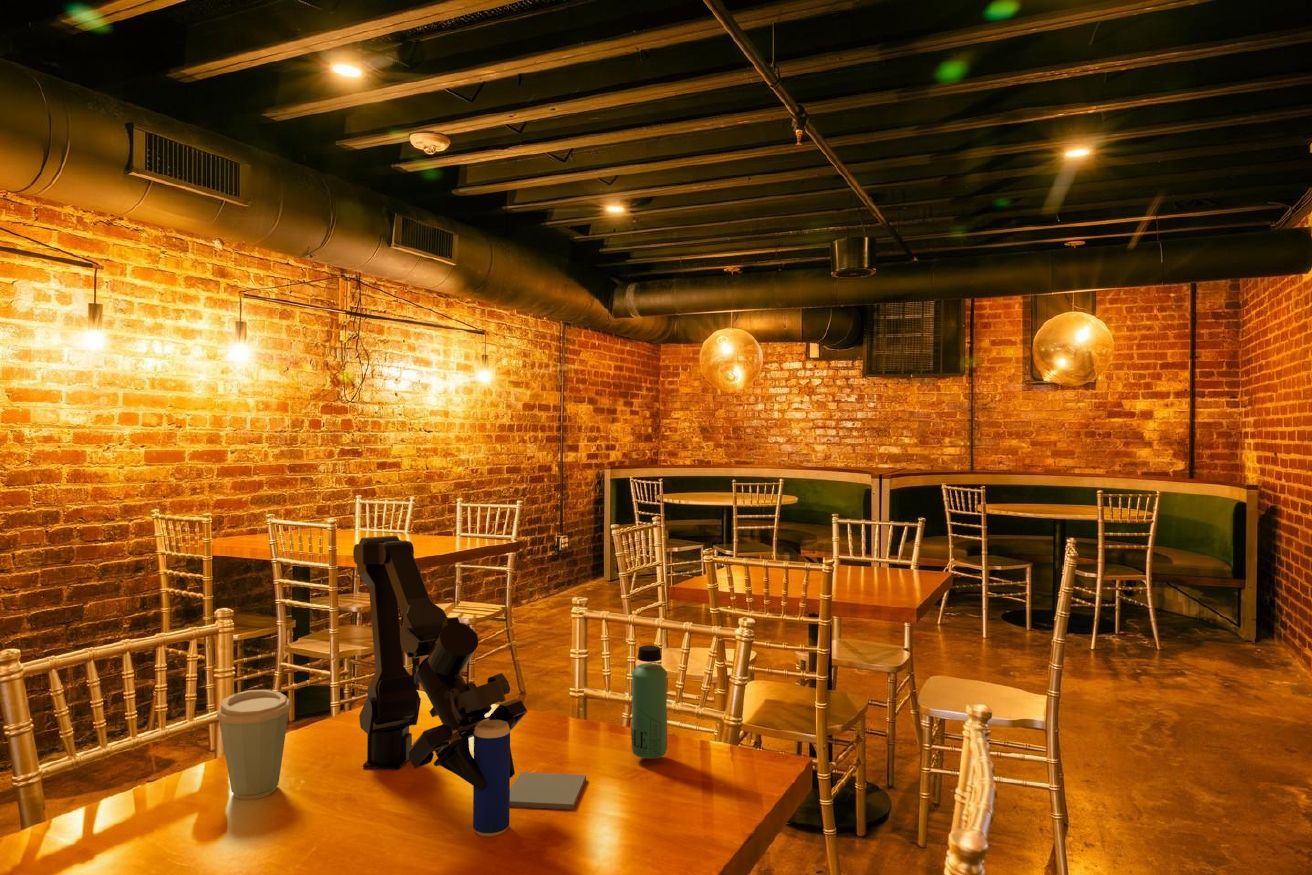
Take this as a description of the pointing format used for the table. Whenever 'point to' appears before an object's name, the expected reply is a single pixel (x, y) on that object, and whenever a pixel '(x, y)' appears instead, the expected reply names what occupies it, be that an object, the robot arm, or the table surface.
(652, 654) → the beverage bottle
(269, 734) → the disposable coffee cup
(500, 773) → the beverage can
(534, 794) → the coaster
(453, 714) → the robot arm
